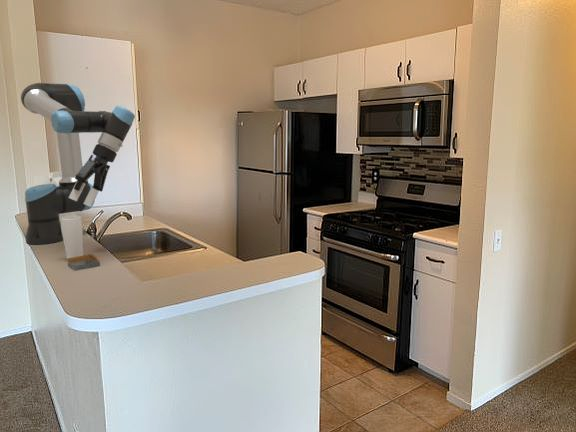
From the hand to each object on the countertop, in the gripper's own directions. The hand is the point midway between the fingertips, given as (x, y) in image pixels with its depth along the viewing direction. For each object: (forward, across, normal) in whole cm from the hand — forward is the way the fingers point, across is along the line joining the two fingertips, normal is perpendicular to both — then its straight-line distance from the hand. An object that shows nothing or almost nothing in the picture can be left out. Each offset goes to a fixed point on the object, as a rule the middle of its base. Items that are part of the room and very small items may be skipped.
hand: (80, 202), depth 160 cm
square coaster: (+19, -3, -12) cm, 22 cm away
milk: (+14, +77, +34) cm, 85 cm away
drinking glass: (+19, +6, -5) cm, 21 cm away
